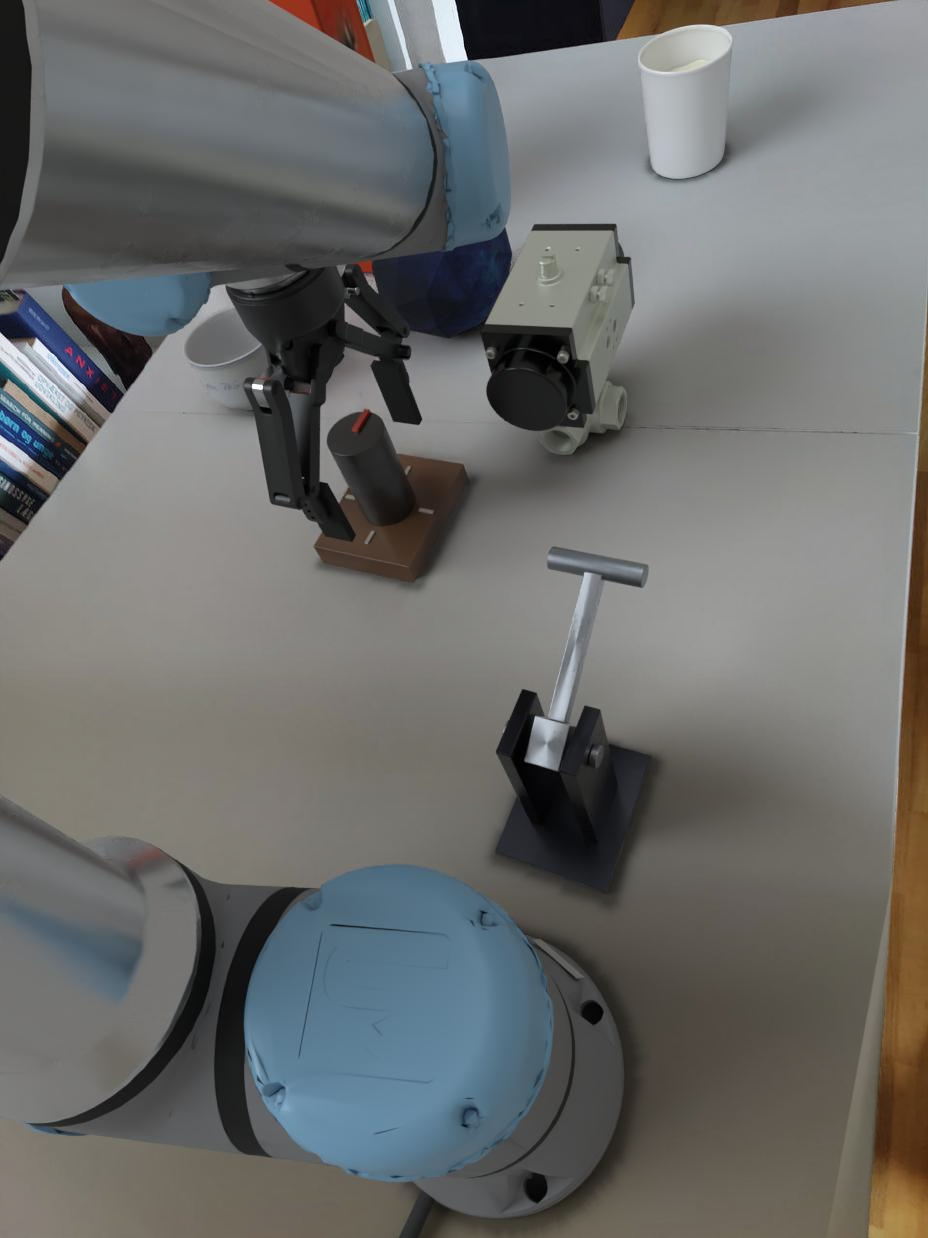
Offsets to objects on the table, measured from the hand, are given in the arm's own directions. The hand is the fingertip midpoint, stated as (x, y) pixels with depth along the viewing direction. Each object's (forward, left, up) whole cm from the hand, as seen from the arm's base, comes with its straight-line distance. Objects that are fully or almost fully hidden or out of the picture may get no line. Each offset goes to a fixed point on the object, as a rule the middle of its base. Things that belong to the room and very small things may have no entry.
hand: (375, 476), depth 74 cm
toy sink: (+64, +36, -6) cm, 74 cm away
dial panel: (0, 0, -6) cm, 6 cm away
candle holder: (+58, -11, -6) cm, 59 cm away
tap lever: (-16, -25, +6) cm, 30 cm away
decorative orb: (+28, +6, -6) cm, 29 cm away
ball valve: (+15, -13, -6) cm, 21 cm away
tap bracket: (-21, -25, -6) cm, 33 cm away
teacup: (+14, +23, -6) cm, 28 cm away
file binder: (+38, +25, -6) cm, 46 cm away
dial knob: (0, 0, -4) cm, 4 cm away
